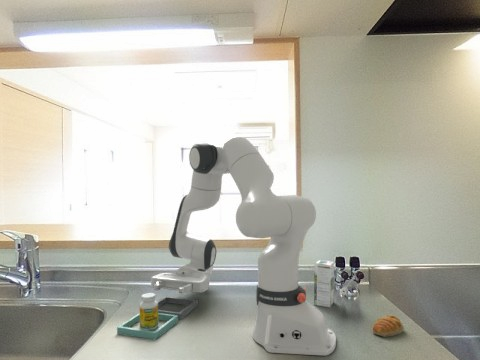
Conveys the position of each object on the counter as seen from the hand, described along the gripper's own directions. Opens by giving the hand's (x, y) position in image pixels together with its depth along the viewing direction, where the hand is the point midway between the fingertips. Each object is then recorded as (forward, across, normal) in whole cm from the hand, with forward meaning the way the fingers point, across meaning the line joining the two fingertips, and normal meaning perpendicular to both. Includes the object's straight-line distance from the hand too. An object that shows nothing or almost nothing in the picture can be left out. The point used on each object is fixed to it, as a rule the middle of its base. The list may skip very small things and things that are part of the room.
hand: (168, 289), depth 113 cm
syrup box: (-23, +48, +8) cm, 54 cm away
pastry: (-7, +67, +8) cm, 68 cm away
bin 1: (+12, 0, +8) cm, 14 cm away
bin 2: (-2, 0, +8) cm, 8 cm away
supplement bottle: (+12, 0, +8) cm, 14 cm away
